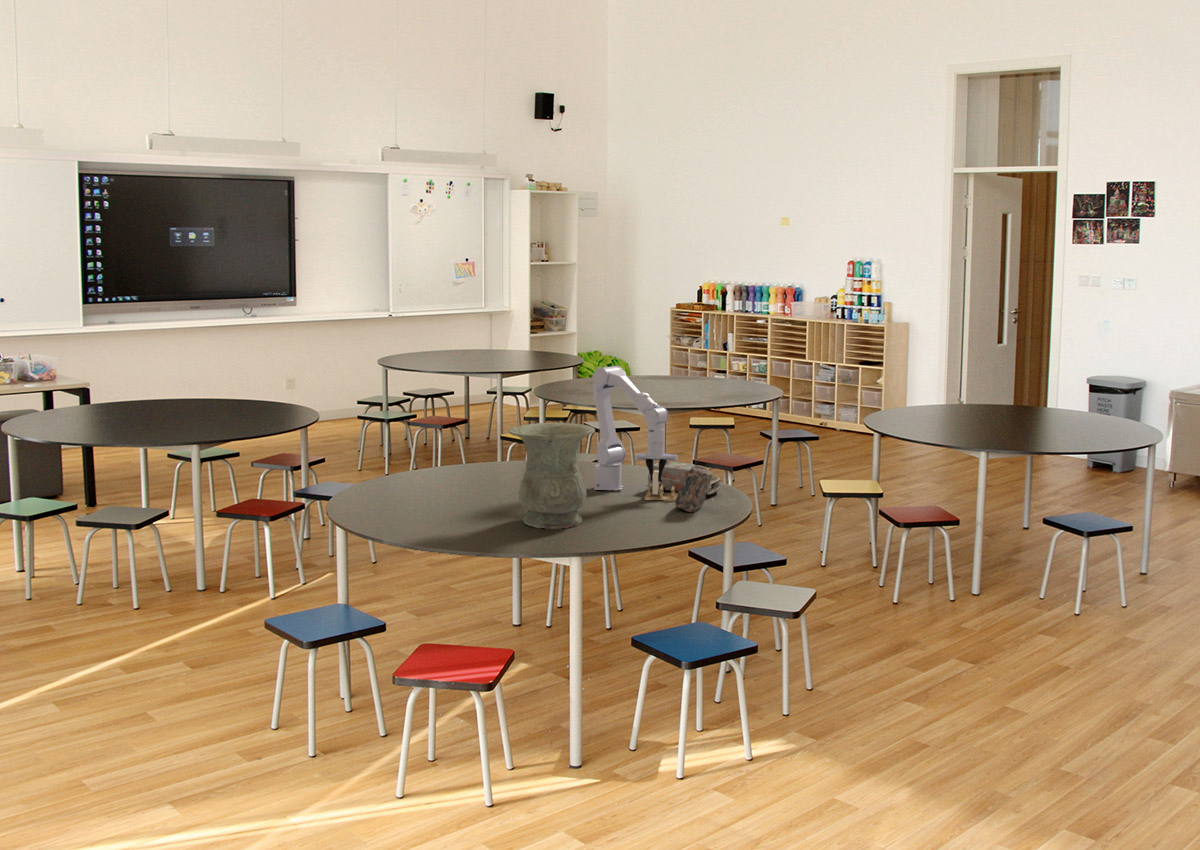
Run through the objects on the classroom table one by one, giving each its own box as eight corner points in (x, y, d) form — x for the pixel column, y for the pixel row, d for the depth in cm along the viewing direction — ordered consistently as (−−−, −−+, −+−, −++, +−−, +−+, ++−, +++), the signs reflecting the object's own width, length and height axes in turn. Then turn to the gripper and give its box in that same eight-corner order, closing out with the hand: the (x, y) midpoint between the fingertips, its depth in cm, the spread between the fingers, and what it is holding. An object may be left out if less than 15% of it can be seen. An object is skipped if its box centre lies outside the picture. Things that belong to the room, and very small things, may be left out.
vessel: (548, 508, 373) (548, 419, 368) (611, 520, 356) (611, 427, 352) (491, 523, 352) (490, 429, 348) (554, 537, 336) (554, 438, 331)
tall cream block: (652, 494, 385) (652, 474, 384) (654, 490, 392) (654, 470, 391) (657, 494, 385) (657, 474, 384) (659, 490, 392) (659, 470, 391)
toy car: (709, 499, 387) (710, 471, 386) (646, 491, 400) (646, 464, 398) (722, 494, 397) (722, 466, 395) (659, 486, 409) (660, 459, 407)
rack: (644, 500, 385) (644, 489, 384) (646, 494, 394) (646, 483, 393) (676, 501, 384) (676, 490, 383) (678, 495, 392) (678, 484, 392)
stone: (679, 514, 365) (680, 469, 362) (666, 505, 377) (666, 462, 375) (717, 512, 368) (718, 467, 366) (702, 503, 381) (703, 460, 378)
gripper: (634, 443, 383) (634, 482, 385) (676, 444, 381) (676, 483, 383) (636, 440, 390) (635, 478, 392) (678, 441, 388) (677, 479, 390)
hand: (655, 480), depth 388 cm, fingers closed on tall cream block, 2 cm apart
